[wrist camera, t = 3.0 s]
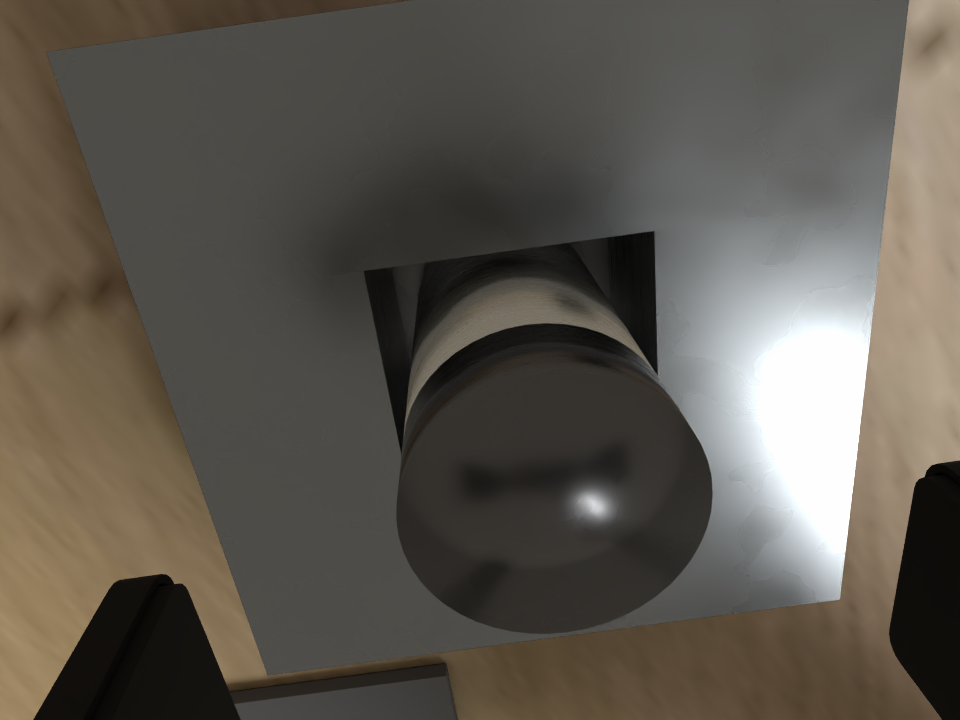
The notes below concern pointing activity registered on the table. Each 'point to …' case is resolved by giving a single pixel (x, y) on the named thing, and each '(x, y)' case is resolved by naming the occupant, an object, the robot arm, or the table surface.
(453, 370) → the white and black cylinder
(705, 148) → the housing
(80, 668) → the robot arm
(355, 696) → the mat
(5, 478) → the table surface
